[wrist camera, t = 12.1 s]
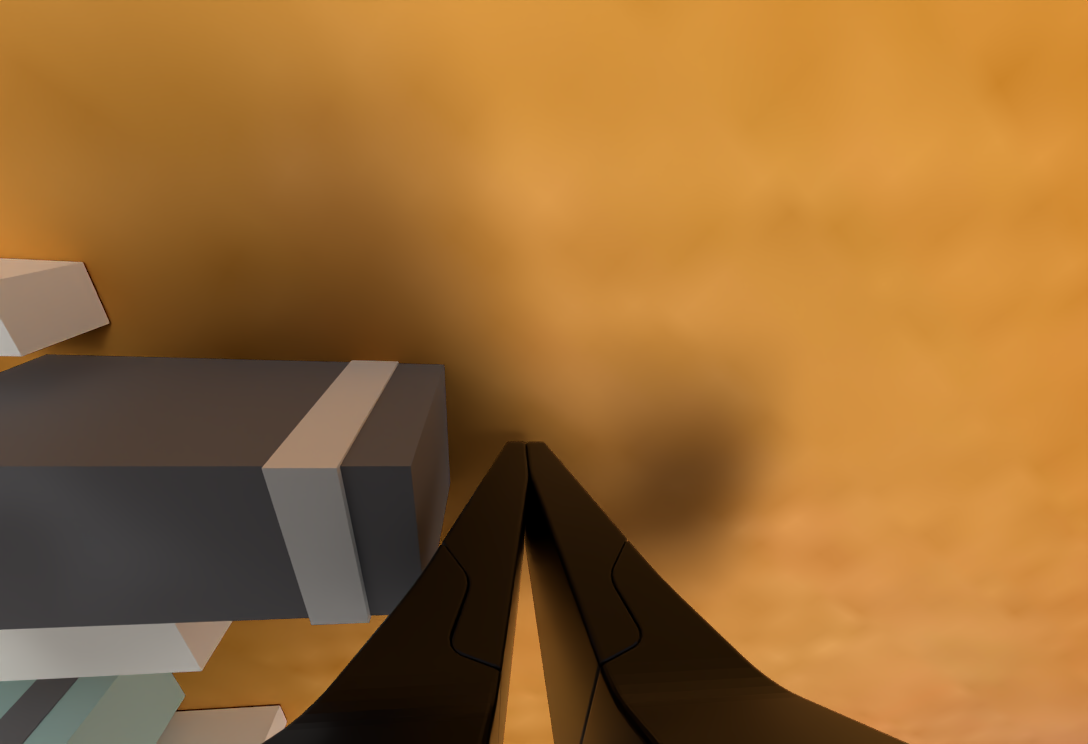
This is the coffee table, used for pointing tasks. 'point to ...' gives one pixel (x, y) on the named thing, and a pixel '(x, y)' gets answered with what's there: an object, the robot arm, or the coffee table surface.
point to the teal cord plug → (88, 709)
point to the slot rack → (67, 652)
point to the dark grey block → (216, 489)
